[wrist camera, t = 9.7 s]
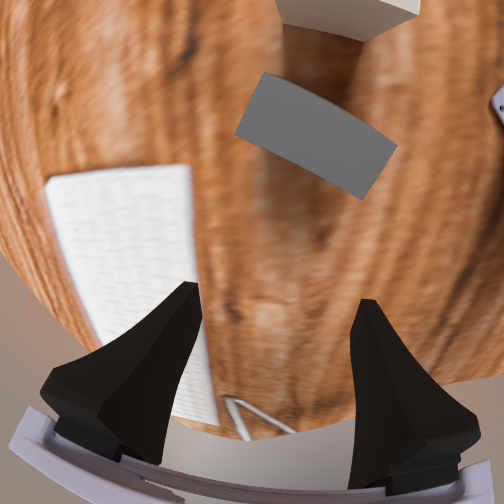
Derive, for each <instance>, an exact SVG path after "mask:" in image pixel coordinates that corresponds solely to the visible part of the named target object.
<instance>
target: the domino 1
mask: <svg viewBox="0 0 504 504" xmlns="http://www.w3.org/2000/svg"><path fill="white" fill-rule="evenodd" d="M275 1H276V4H277V7H278V10H279V13H280V17H281V20H282V24H286V25H292V26H298V27H304V28H309V29H314V30H319V31H323V32H328V33H332V34H336V35H340V36H344V37H348V38H351V39H355V40H358V41H362V42H366V41H368V40H369V39H371V38H373V37H375V36H377V35H379V34H381V33H383V32H385V31H387V30H389V29H391V28H393V27H395V26H397V25H399V24H401V23H404V22H406V21H408V20H410V19H412V18H415V17H417V16H419V11H420V2H421V0H275Z"/></svg>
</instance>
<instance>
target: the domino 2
mask: <svg viewBox="0 0 504 504" xmlns="http://www.w3.org/2000/svg"><path fill="white" fill-rule="evenodd" d="M234 135H235V136H238V137H240V138H242V139H244V140H247V141H249V142H251V143H253V144H255V145H258V146H260V147H262V148H264V149H266V150H268V151H270V152H272V153H274V154H277V155H279V156H281V157H283V158H285V159H287V160H289V161H291V162H293V163H295V164H297V165H299V166H301V167H303V168H304V169H306V170H308V171H310V172H312V173H314V174H316V175H318V176H320V177H322V178H323V179H325V180H327V181H329V182H331V183H333V184H334V185H336V186H338V187H340V188H342V189H343V190H345V191H347V192H349V193H350V194H352V195H354V196H356V197H357V198H359V199H361V200H363V199H364V197H365V196H366V194H367V193H368V191H369V190H370V188H371V187H372V185H373V184H374V182H375V181H376V179H377V177H378V176H379V174H380V173H381V171H382V170H383V168H384V166H385V165H386V163H387V162H388V160H389V159H390V157H391V155H392V154H393V152H394V151H395V149H396V147H397V146H398V145H396V144H395V143H394V142H392V141H391V140H390V139H388V138H387V137H385V136H384V135H383V134H381V133H380V132H378V131H377V130H376V129H374V128H373V127H371V126H370V125H368V124H367V123H365V122H364V121H362V120H361V119H359V118H358V117H356V116H355V115H353V114H352V113H350V112H348V111H347V110H345V109H343V108H341V107H340V106H338V105H336V104H334V103H332V102H331V101H329V100H327V99H325V98H323V97H321V96H319V95H317V94H315V93H313V92H312V91H310V90H308V89H306V88H304V87H301V86H299V85H297V84H295V83H293V82H291V81H289V80H287V79H285V78H282V77H280V76H277V75H273V74H270V73H266V72H264V73H263V75H262V77H261V79H260V81H259V83H258V85H257V87H256V89H255V91H254V93H253V95H252V97H251V100H250V102H249V104H248V106H247V108H246V110H245V112H244V115H243V117H242V119H241V121H240V123H239V125H238V128H237V130H236V132H235V134H234Z"/></svg>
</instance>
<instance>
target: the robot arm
mask: <svg viewBox="0 0 504 504" xmlns="http://www.w3.org/2000/svg"><path fill="white" fill-rule="evenodd" d="M491 103H492V106H493V108H494V109H495V111H496V113H497V114H498V116H499V118H500V120H501V121H502V123H503V125H504V85H503V86H502V87H501V88H500V89H499V90H498V91H497V93H496V94H495V95H494V96H493V97H492V100H491ZM500 106H501V111H500ZM201 321H202V310H201V303H200V296H199V288H198V283H194V282H186V281H184V282H183V283H182V284H181V285H179V286H178V287H177V288H176V289H175V290H174V291H173V292H172V293H171V294H170V295H169V296H168V297H167V298H166V299H165V300H164V301H163V302H162V303H160V304H159V305H158V306H157V307H156V308H155V309H154V310H153V311H152V312H150V313H149V314H148V315H147V316H146V317H145V318H143V319H142V320H141V321H140V322H138V323H137V324H136V325H135V326H133V327H132V328H131V329H130V330H128V331H127V332H125V333H124V334H122V335H121V336H120V337H118V338H117V339H115V340H113V341H112V342H110V343H108V344H107V345H105V346H103V347H101V348H100V349H98V350H96V351H94V352H92V353H90V354H88V355H86V356H84V357H82V358H79V359H77V360H75V361H72V362H69V363H67V364H64V365H61V366H59V367H56V368H53V370H52V372H51V373H50V375H49V377H48V378H47V380H46V381H45V383H44V385H43V386H42V388H41V390H40V395H41V397H42V398H43V400H44V401H45V402H46V403H47V404H48V405H49V406H50V407H51V408H52V409H53V410H54V411H55V412H56V413H57V414H58V415H59V416H60V417H59V419H58V421H57V422H56V421H55V420H53V419H52V418H51V417H50V416H48V415H47V414H45V413H43V412H42V411H40V410H38V409H36V408H35V407H33V406H31V405H29V407H28V409H27V411H26V412H25V414H24V416H23V418H22V420H21V422H20V424H19V426H18V428H17V430H16V432H15V434H14V436H13V438H12V440H11V442H10V444H9V449H11V450H12V451H13V452H15V453H16V454H17V455H19V456H20V457H21V458H22V459H24V460H25V461H27V462H28V463H29V464H31V465H32V466H33V467H35V468H36V469H38V470H39V471H41V472H42V473H43V474H45V475H46V476H48V477H49V478H51V479H52V480H54V481H56V482H57V483H58V484H60V485H62V486H63V487H65V488H67V489H68V490H70V491H72V492H73V493H75V494H77V495H78V496H80V497H82V498H84V499H86V500H88V501H89V502H91V503H93V504H184V502H185V499H184V498H182V497H180V496H177V495H175V494H174V493H172V491H170V490H168V489H165V488H162V487H159V486H156V485H154V484H151V483H149V482H146V481H145V480H148V481H151V482H154V483H157V484H160V485H164V486H167V487H170V488H174V489H178V490H182V491H185V492H189V493H194V494H198V495H202V496H207V497H212V498H217V499H222V500H228V501H234V502H241V503H248V504H494V495H493V494H494V493H493V484H492V474H491V467H490V460H488V459H487V460H484V461H481V462H478V463H475V464H472V465H469V466H467V467H464V468H462V469H460V470H459V471H458V465H457V464H458V463H460V462H461V457H460V454H461V453H462V452H464V451H465V450H467V449H468V448H470V447H471V446H473V445H474V444H475V443H476V442H477V441H478V440H479V439H480V437H481V432H480V427H479V423H478V419H477V416H476V415H475V414H474V413H472V412H471V411H470V410H468V409H467V408H465V407H464V406H462V405H461V404H460V403H459V402H457V401H456V400H455V399H454V398H453V397H451V396H450V395H449V394H448V393H447V392H445V390H443V389H442V388H441V387H440V386H439V385H438V384H437V383H436V382H435V381H434V380H433V379H432V378H431V377H430V376H429V374H428V373H427V372H426V371H425V370H424V369H423V368H422V366H421V365H420V364H419V363H418V362H417V361H416V359H415V358H414V357H413V356H412V354H411V353H410V352H409V350H408V349H407V348H406V346H405V345H404V343H403V342H402V340H401V339H400V337H399V336H398V335H397V333H396V332H395V330H394V329H393V327H392V325H391V324H390V322H389V321H388V319H387V318H386V316H385V314H384V313H383V311H382V310H381V308H380V306H379V305H378V303H377V302H376V300H372V299H361V301H360V304H359V307H358V310H357V313H356V316H355V319H354V322H353V325H352V328H351V331H350V355H351V364H352V372H353V380H354V389H355V400H356V421H355V438H354V449H353V458H352V466H351V472H350V478H349V483H348V488H347V490H327V491H326V490H325V491H317V490H315V491H313V490H288V489H273V488H264V487H254V486H246V485H240V484H233V483H227V482H222V481H216V480H211V479H206V478H202V477H197V476H193V475H188V474H185V473H181V472H177V471H173V470H170V469H166V468H162V467H159V466H158V465H160V464H161V462H162V455H163V449H164V443H165V438H166V433H167V428H168V423H169V419H170V414H171V410H172V406H173V402H174V398H175V395H176V391H177V387H178V384H179V381H180V379H181V376H182V374H183V371H184V369H185V366H186V364H187V361H188V359H189V356H190V354H191V352H192V349H193V347H194V344H195V342H196V339H197V336H198V332H199V329H200V325H201ZM144 479H145V480H144Z"/></svg>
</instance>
